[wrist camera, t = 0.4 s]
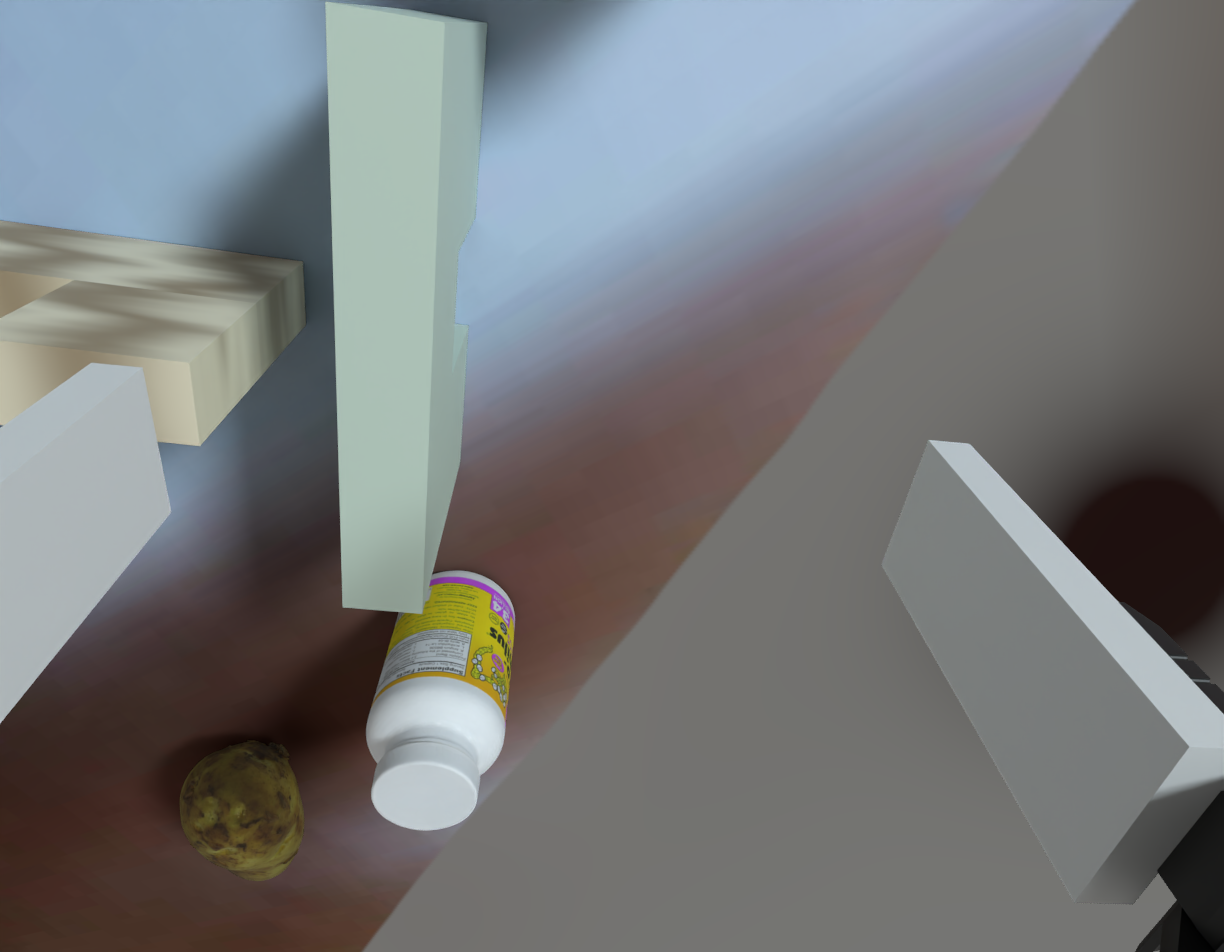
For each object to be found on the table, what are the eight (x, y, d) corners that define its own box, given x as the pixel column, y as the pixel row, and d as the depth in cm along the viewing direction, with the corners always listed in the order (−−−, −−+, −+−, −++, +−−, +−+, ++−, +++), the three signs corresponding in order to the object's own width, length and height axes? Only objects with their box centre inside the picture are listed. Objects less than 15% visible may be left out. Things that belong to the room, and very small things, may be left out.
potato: (174, 803, 53) (115, 921, 46) (233, 683, 47) (176, 796, 40) (293, 837, 55) (254, 954, 48) (361, 727, 50) (328, 840, 43)
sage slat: (409, 9, 30) (325, 1, 20) (487, 22, 30) (444, 22, 20) (401, 455, 40) (342, 607, 29) (460, 462, 40) (422, 614, 30)
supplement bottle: (515, 653, 47) (498, 846, 36) (405, 650, 47) (354, 846, 36) (517, 565, 44) (499, 749, 33) (398, 562, 43) (339, 747, 32)
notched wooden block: (-116, 271, 34) (-416, 380, 24) (-139, 201, 32) (-470, 285, 22) (306, 324, 36) (200, 446, 26) (303, 261, 34) (189, 362, 24)
